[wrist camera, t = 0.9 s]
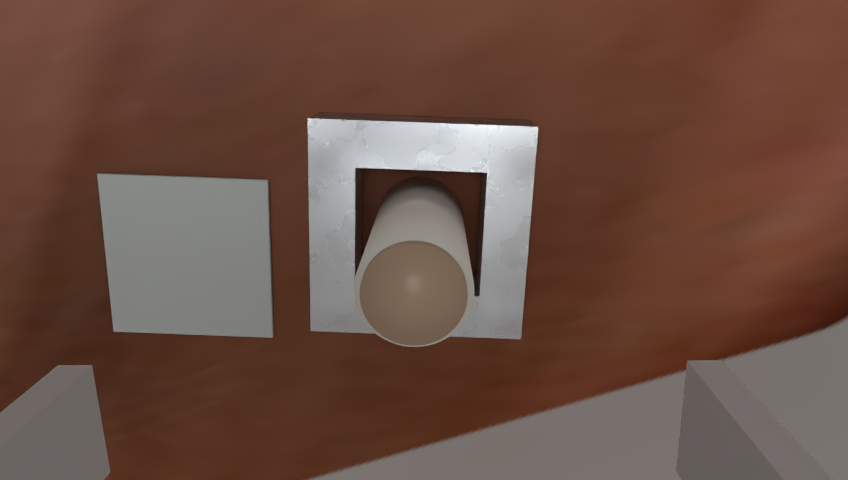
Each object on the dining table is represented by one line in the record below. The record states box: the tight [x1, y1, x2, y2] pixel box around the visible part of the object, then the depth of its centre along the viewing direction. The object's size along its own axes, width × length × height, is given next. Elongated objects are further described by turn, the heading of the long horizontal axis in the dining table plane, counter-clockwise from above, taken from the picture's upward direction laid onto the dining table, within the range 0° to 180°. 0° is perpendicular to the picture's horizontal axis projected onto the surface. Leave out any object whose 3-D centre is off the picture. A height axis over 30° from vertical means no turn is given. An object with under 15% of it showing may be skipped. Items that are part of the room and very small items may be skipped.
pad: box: [97, 173, 274, 338], centre depth 40 cm, size 10×10×1 cm
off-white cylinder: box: [354, 177, 474, 347], centre depth 33 cm, size 5×5×13 cm
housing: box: [308, 112, 538, 339], centre depth 37 cm, size 12×12×4 cm
